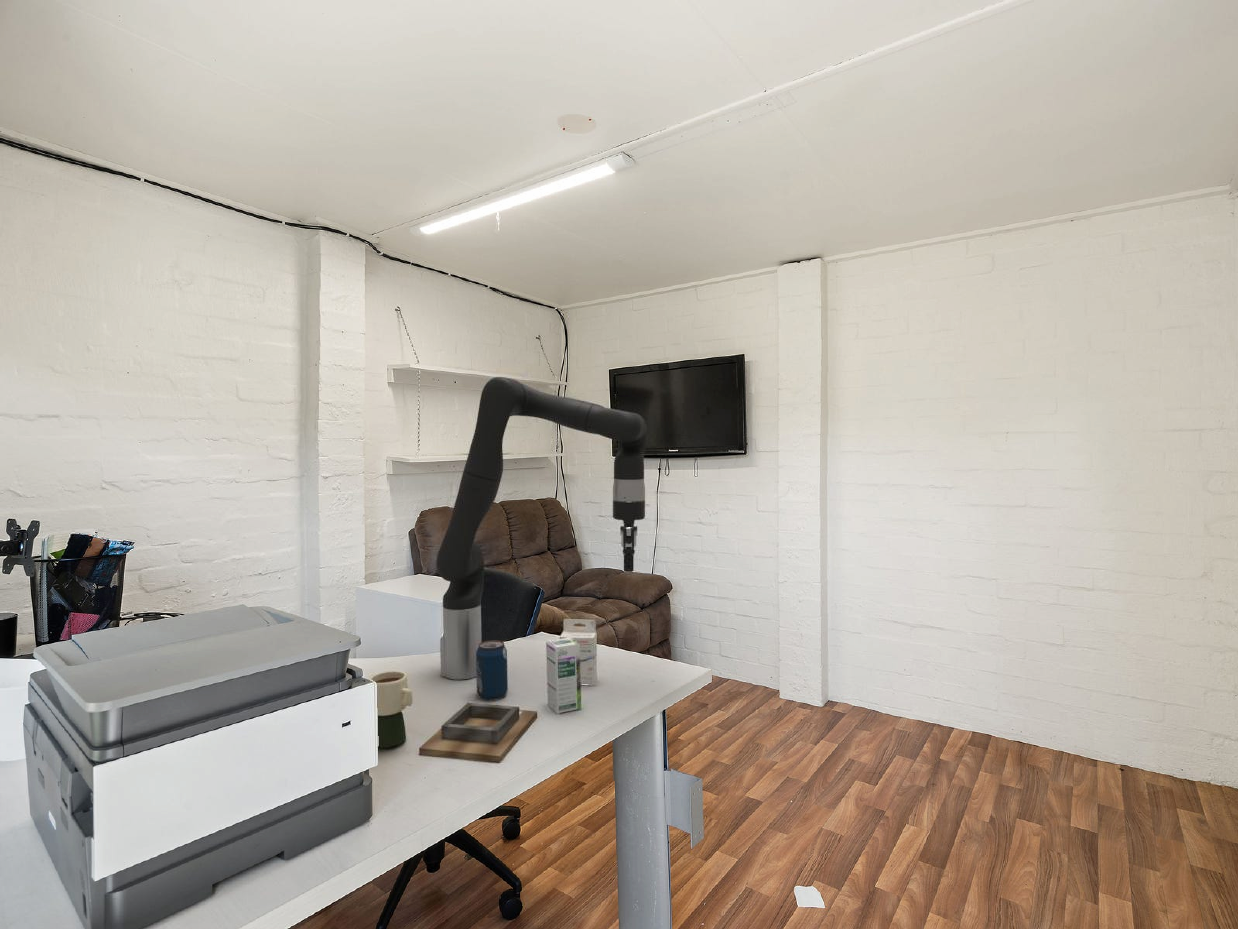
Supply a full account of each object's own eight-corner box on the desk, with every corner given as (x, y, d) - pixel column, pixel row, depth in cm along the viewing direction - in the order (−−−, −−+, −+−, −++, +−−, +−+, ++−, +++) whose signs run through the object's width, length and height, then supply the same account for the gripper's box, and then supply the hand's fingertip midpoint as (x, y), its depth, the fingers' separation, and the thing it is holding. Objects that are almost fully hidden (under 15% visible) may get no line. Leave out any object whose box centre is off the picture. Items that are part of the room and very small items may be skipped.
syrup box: (556, 714, 138) (555, 647, 138) (546, 705, 144) (545, 639, 143) (581, 709, 141) (580, 643, 141) (570, 700, 146) (569, 635, 146)
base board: (419, 754, 121) (418, 734, 121) (466, 711, 141) (466, 694, 141) (499, 762, 118) (499, 742, 118) (537, 717, 137) (537, 699, 137)
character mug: (424, 739, 127) (423, 673, 127) (400, 756, 121) (398, 686, 120) (379, 731, 131) (377, 667, 131) (353, 747, 125) (351, 679, 124)
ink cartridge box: (559, 685, 155) (558, 624, 155) (562, 678, 160) (562, 618, 160) (594, 686, 154) (594, 624, 154) (597, 678, 159) (596, 619, 159)
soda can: (513, 692, 151) (512, 640, 151) (497, 703, 145) (496, 650, 144) (487, 688, 154) (486, 638, 153) (470, 699, 147) (469, 647, 147)
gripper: (613, 495, 159) (613, 562, 159) (611, 501, 145) (611, 574, 145) (644, 495, 159) (644, 562, 159) (645, 501, 144) (645, 574, 145)
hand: (628, 567), depth 152 cm, fingers open, 8 cm apart
